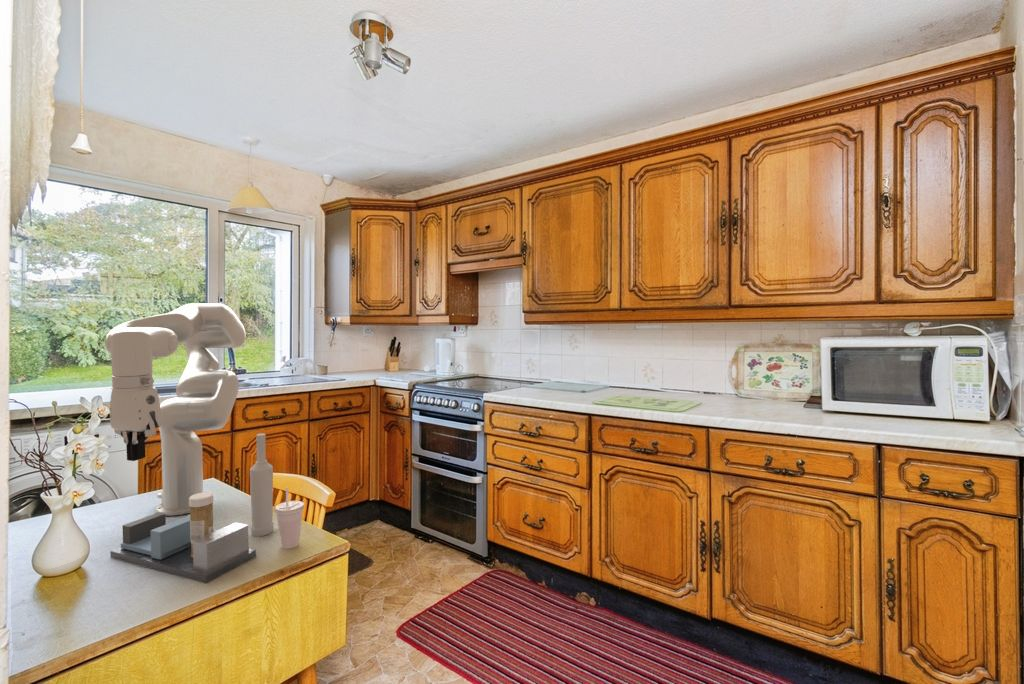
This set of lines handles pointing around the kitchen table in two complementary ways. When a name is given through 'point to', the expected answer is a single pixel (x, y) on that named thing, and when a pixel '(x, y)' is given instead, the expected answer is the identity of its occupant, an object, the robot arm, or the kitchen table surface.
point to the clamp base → (179, 563)
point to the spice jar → (200, 516)
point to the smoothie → (289, 522)
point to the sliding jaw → (157, 536)
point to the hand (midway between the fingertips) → (136, 458)
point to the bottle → (261, 491)
